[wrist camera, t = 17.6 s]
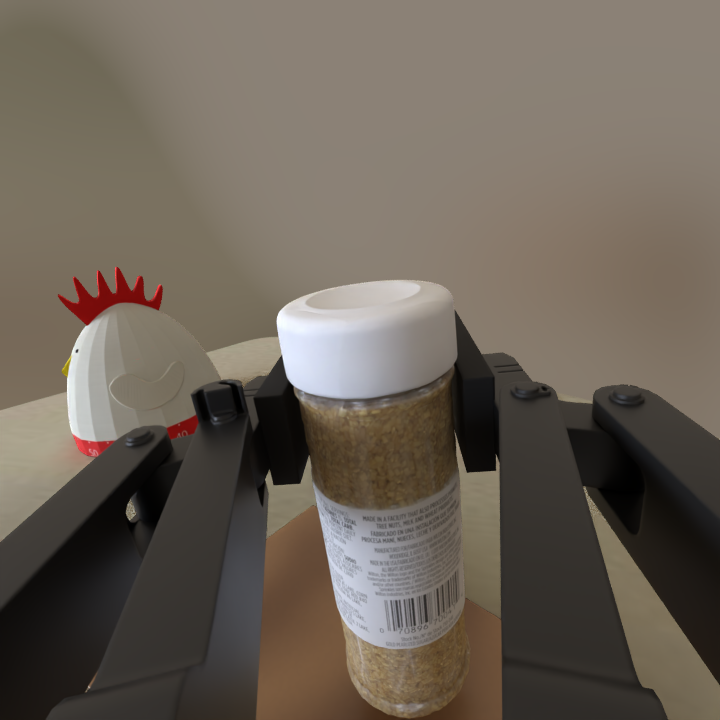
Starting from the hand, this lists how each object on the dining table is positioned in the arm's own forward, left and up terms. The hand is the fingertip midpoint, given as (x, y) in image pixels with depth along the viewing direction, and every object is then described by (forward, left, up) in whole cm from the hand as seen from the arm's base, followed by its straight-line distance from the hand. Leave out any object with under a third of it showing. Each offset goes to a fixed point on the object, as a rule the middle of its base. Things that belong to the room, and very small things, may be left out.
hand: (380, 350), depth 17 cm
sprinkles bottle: (+3, -4, -10) cm, 11 cm away
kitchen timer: (-32, 0, -12) cm, 34 cm away
